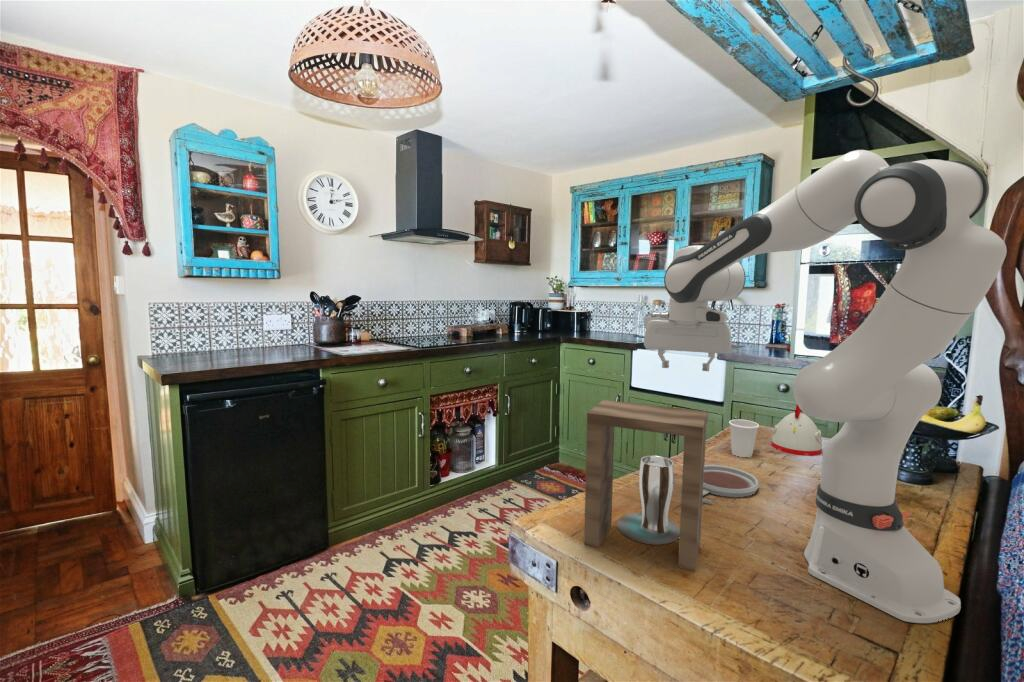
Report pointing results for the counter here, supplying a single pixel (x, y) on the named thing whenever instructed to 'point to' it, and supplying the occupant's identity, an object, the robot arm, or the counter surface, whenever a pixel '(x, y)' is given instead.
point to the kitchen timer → (797, 435)
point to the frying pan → (727, 482)
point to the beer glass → (655, 494)
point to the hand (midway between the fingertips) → (685, 369)
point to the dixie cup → (743, 437)
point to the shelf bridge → (601, 473)
